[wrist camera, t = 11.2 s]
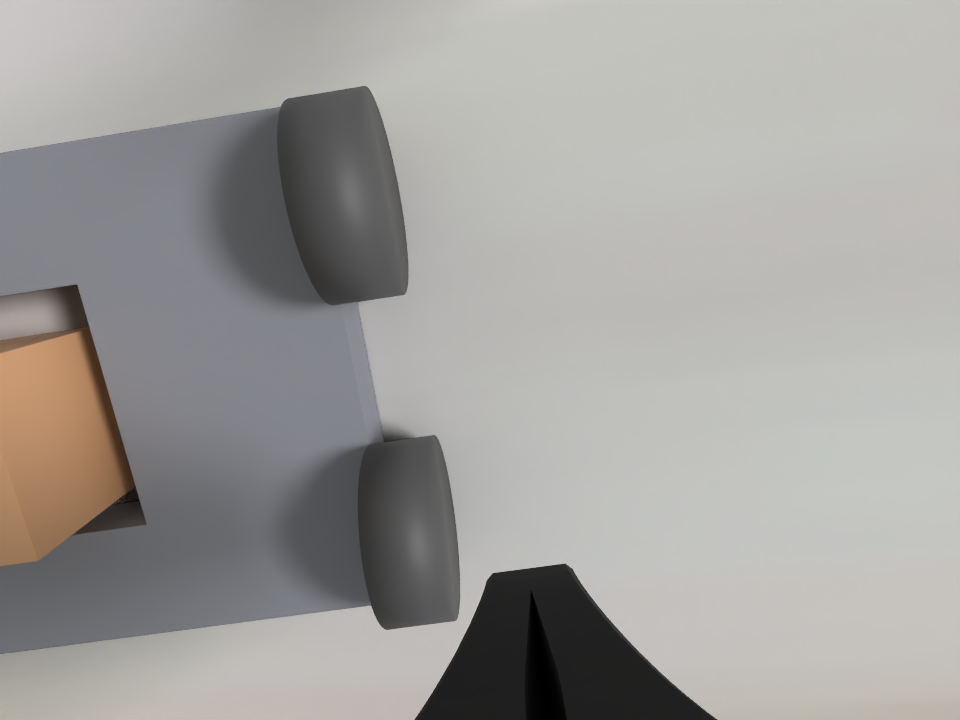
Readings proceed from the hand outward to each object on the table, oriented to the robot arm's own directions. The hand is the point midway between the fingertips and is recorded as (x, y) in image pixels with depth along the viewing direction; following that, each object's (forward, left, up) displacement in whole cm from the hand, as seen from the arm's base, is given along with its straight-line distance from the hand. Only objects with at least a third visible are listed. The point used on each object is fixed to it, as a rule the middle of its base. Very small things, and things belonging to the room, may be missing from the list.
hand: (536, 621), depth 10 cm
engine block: (+3, +14, -10) cm, 17 cm away
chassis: (+3, +14, -9) cm, 17 cm away
